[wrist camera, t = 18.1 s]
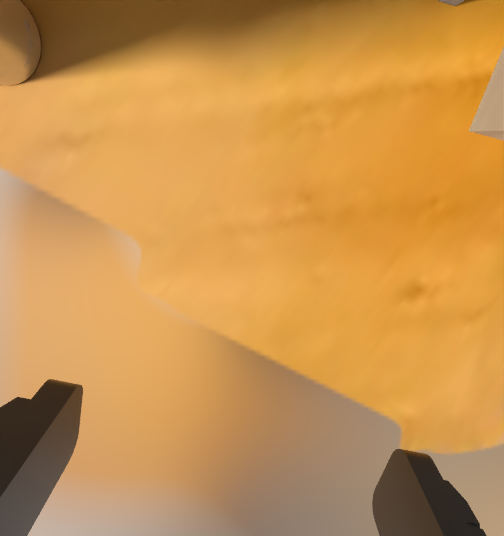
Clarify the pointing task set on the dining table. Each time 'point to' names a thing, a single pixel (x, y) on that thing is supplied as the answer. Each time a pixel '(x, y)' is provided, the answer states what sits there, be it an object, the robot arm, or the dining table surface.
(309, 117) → the dining table surface
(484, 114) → the tan and grey block
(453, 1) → the tall grey box
